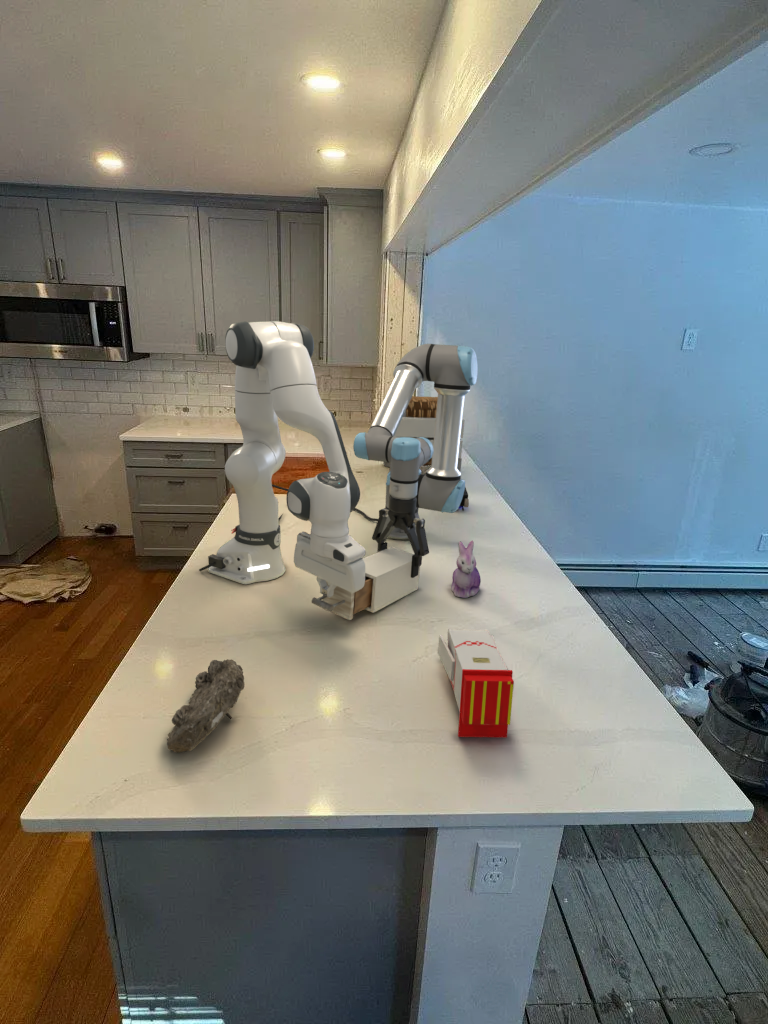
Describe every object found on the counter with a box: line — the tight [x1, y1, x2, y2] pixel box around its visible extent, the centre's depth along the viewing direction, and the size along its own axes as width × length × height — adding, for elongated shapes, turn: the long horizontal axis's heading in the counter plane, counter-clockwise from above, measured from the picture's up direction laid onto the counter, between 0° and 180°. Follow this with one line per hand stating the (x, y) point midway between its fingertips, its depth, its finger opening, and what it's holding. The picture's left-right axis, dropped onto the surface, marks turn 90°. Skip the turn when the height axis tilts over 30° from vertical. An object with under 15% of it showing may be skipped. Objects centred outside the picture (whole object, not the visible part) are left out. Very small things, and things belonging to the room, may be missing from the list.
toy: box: [437, 628, 515, 738], centre depth 117 cm, size 12×13×30 cm
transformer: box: [382, 395, 465, 474], centre depth 268 cm, size 34×33×41 cm
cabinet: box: [362, 546, 421, 613], centre depth 154 cm, size 21×10×10 cm, turn 143°
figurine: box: [450, 540, 482, 599], centre depth 158 cm, size 9×10×15 cm
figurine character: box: [455, 486, 470, 512], centre depth 229 cm, size 7×8×15 cm
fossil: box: [166, 658, 245, 754], centre depth 106 cm, size 22×10×15 cm
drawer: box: [311, 576, 373, 621], centre depth 145 cm, size 25×9×8 cm, turn 143°
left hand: (326, 594), depth 137 cm, fingers closed
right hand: (398, 570), depth 160 cm, fingers closed on cabinet, 10 cm apart
